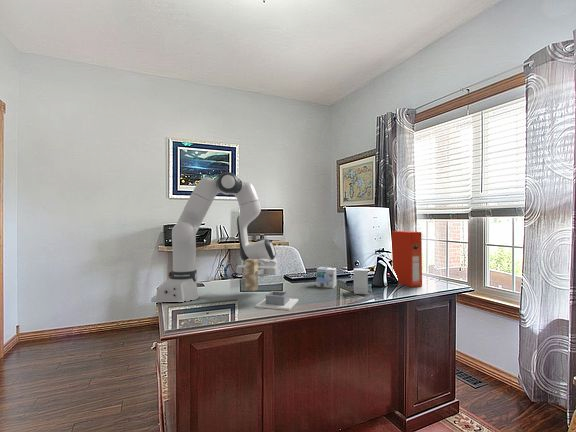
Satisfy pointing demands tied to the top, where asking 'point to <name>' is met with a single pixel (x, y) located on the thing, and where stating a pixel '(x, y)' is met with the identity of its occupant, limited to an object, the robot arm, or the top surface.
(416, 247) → the file binder
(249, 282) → the maple post
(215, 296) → the top surface
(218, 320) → the top surface
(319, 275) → the light bulb box
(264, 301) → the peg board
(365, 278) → the supplement box
